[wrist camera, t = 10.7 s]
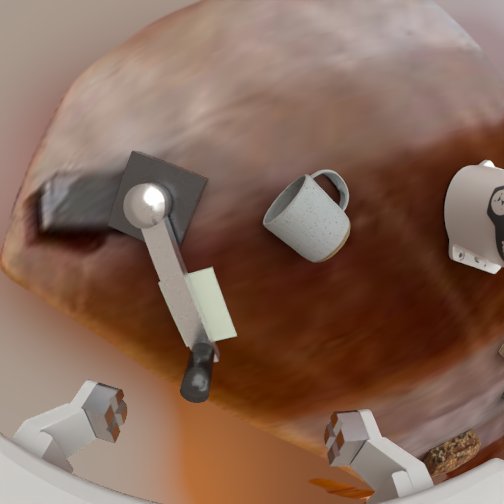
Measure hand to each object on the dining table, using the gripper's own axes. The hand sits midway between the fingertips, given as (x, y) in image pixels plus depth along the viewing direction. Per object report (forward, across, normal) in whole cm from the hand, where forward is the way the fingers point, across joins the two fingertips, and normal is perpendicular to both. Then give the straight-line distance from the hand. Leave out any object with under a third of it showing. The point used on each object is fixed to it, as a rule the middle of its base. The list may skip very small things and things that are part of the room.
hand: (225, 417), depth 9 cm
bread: (+31, -71, +61) cm, 99 cm away
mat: (+28, +6, +11) cm, 31 cm away
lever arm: (+25, +8, +5) cm, 27 cm away
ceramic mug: (+29, -7, -5) cm, 30 cm away
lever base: (+28, +12, -4) cm, 31 cm away
